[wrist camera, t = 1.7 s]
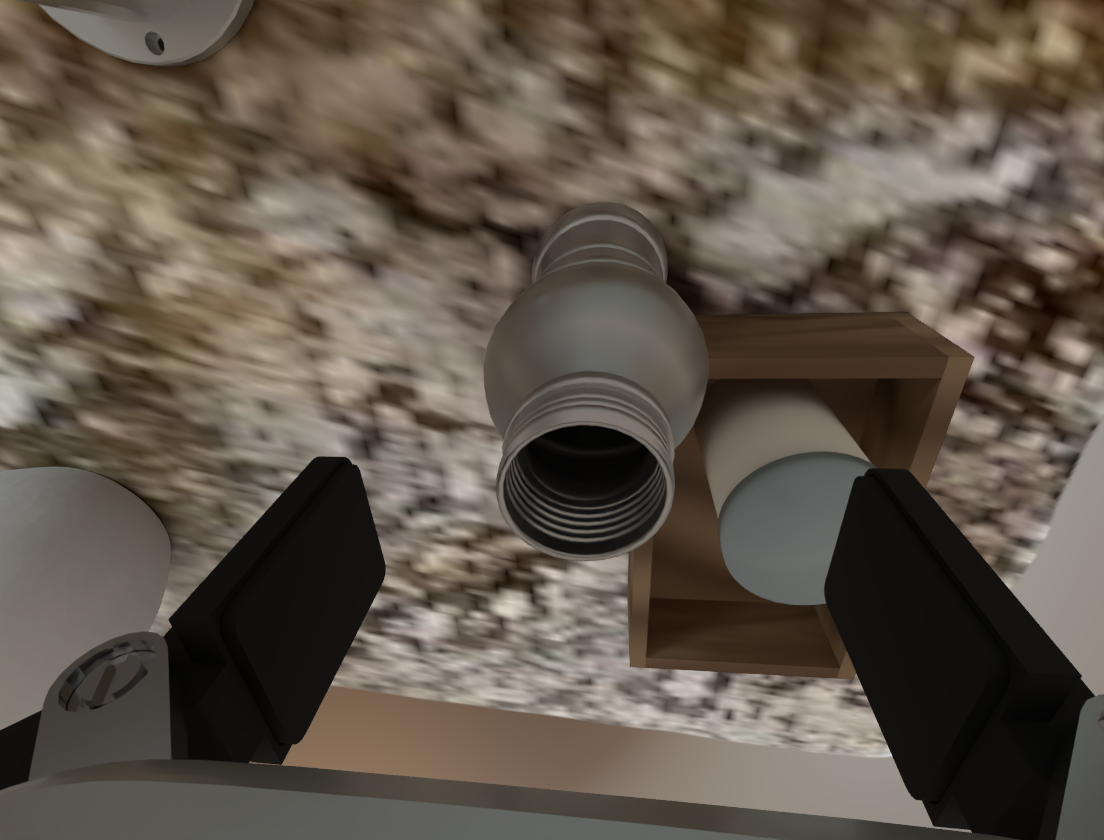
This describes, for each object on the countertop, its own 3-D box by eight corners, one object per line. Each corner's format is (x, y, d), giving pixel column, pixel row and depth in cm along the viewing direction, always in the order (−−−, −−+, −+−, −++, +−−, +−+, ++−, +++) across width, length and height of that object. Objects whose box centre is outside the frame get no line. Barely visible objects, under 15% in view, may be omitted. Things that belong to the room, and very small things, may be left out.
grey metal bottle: (513, 268, 28) (364, 501, 11) (599, 163, 26) (574, 260, 8) (601, 344, 30) (587, 648, 13) (690, 254, 27) (828, 491, 10)
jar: (696, 361, 29) (733, 467, 20) (837, 360, 28) (940, 470, 19) (686, 471, 33) (713, 601, 24) (810, 473, 32) (886, 608, 23)
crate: (636, 315, 29) (642, 358, 24) (906, 311, 28) (974, 356, 22) (627, 595, 40) (630, 666, 35) (820, 603, 38) (853, 679, 33)
